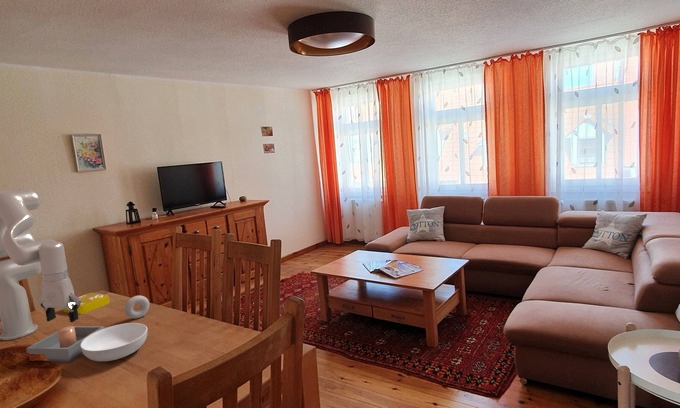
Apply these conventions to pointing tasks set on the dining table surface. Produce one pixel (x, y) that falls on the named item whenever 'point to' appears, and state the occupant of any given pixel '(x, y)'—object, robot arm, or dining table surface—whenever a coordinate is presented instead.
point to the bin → (57, 354)
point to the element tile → (90, 302)
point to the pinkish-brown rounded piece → (67, 336)
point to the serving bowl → (114, 342)
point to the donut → (139, 313)
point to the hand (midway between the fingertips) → (62, 320)
